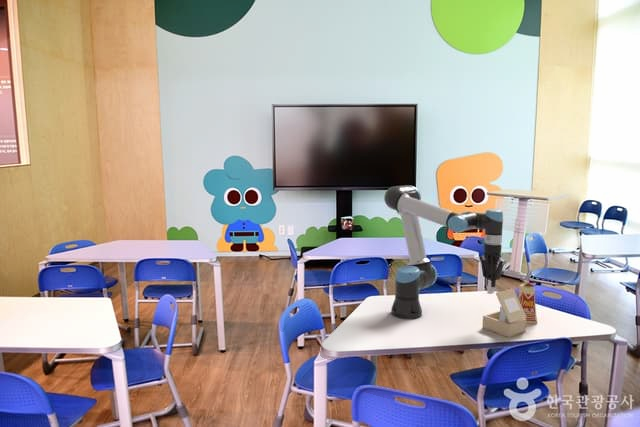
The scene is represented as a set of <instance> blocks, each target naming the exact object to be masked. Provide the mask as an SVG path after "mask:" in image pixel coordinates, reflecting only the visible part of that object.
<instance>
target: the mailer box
mask: <svg viewBox="0 0 640 427" xmlns="http://www.w3.org/2000/svg"><path fill="white" fill-rule="evenodd" d="M526 324H527V322H526V319H521V320H518V321H515V322H512V323H509V322H508V320H507V317H506V315H505V313H504V311H503V309H502V306H501V305H500V307H499V310H498V311H494V312H491V313H488V314H484V315H482V325H481V326H482V329H484V330H487V331H489V332H491V333H495V334H498V335H499V336H500V335H501V336H502V337H506V338H508V339H509V338H513V337H515V336H519V335H521V334H524V333H526V328H527V326H526Z"/></svg>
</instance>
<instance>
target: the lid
mask: <svg viewBox="0 0 640 427" xmlns="http://www.w3.org/2000/svg"><path fill="white" fill-rule="evenodd" d="M495 294H496V297H497V300H498V302H499V304H500V307H501V306H502V309H503V311H504V313H505V315H506V317H507V320H508V322H509V323H512V322H515V321H518V320H521V319H525V318H527V317H526V315H525V313H524V310H523V308H522V306H521V304H520V302H519V300H518V297H517V293H516V291H515V288H510V289H509V288H508V289H505V290H501V291H498V292H497V291H496V292H495Z"/></svg>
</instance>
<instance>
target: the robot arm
mask: <svg viewBox="0 0 640 427" xmlns="http://www.w3.org/2000/svg"><path fill="white" fill-rule="evenodd" d="M421 196H422V194H421V192H420V190H419V189H418V188H417V187H415V186H413V185H409V184H405V185H396V186H391V187H389V188H388V189H387V190H386V191H385V193H384V198H383V199H384V202H385V204H386V206H387V207H388V208H390V209H391V210H394V211H396V213H397V214H398V215H400V217H401V224H402V228H403V232H404V238H405V242H406V247H407V252H408V257H409V262H408V263H407V265H406V266H405V265H403V266H400V267H398V268H397V269H396V271H395V277H394V278H395V281H394V282H395V283H394V284H395V289H394V290H395V291H394V294H395V295H394V297H395V298H394V300H393V304H392V306H391V310H390V311H391V312H390V313H391V315H392V316H393V317H396V318H400V319H409V320H410V319H418V318H421V317H422V316H423V310H422V306H421V303H420V291H421V290H423V289H426V288H427V289H428V288H429V287H431V286H432V285H434V284H435V283H436V281H437V278H438V271H437V269H436V267H435V266H434V265H433V264H432V263H431V260H430V259H429V258H428V257H427V253H426V249H425V244H424V239H423V235H422V230H421V226H420V220H419V218H422V219H424V220H426V221H428V222H429V221H430V222H433V223H435V224H438V225H440V226H443V227H446V228H448V229H449V230H450V231H451V232H453V233H463V232H465V231H470V230H473V229H475V230H484V244H483V245H484V246H483V251H484V252H483V255H479V257H478V258H479V260H480V265H481V270H482V271H481V272H482V277H484V278H486V286H487V290H486V291H487V292H486V293H487V294H489V295H493V294H494V293H495V287H496V283H497V282H496V281H498V280H500V279H501V275H502V272H503V268H504V265H505V264H506V262H507V261H506V260H505V259H503V258H502V255H501V253H502V247H503V246H502V243H503V241H502V240H503V226H504V225H503V224H504V213H503V211H502V210H500V209H487V210H485V213H482V212H481V213H480V212H472V211H463V212H461V214H460V213H457V212H454V211H452V210H448V209H446V208H443V207H441V206H438V205H434V204H431V203H429V202H426V201H422V197H421Z"/></svg>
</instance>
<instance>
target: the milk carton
mask: <svg viewBox="0 0 640 427" xmlns="http://www.w3.org/2000/svg"><path fill="white" fill-rule="evenodd" d="M516 295H517V297H518V300H519V302H520V304H521V306H522V308H523V310H524V313H525V315H526V317H527V318H525V319H526V324H527V323H528V324H538V318H537V311H536V310H537V307H536V287H535V285H533V284H531V283H530V281H529V280H523V282H522V283H521V284H520V285H519V286H518V292H517V293H516Z"/></svg>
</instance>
